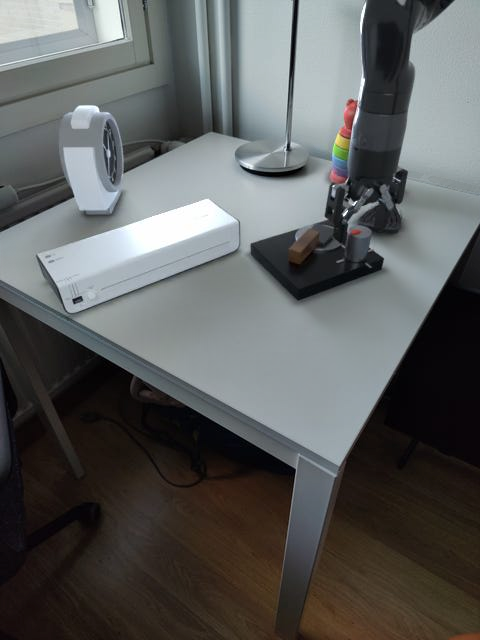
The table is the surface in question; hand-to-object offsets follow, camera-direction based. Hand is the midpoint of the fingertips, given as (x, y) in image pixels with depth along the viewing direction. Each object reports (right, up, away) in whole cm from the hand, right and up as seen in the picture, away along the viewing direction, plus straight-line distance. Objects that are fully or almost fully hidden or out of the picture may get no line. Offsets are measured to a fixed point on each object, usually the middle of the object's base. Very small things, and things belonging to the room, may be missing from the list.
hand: (359, 234), depth 79 cm
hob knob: (0, -3, +3) cm, 4 cm away
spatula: (-8, -1, +5) cm, 9 cm away
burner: (-6, +1, +7) cm, 9 cm away
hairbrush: (+11, +8, +19) cm, 23 cm away
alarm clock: (-51, +12, +25) cm, 58 cm away
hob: (-7, -4, +6) cm, 10 cm away
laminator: (-37, -5, +6) cm, 38 cm away
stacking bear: (+6, +19, +32) cm, 38 cm away
